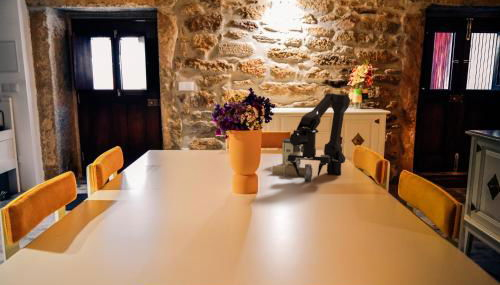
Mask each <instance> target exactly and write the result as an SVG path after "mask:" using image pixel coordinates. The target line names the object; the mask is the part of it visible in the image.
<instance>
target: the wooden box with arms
mask: <svg viewBox="0 0 500 285" xmlns="http://www.w3.org/2000/svg"><path fill="white" fill-rule="evenodd" d="M298 167H299V176H300V177H305V167H303V166H302V167H301V165H300V164H298ZM272 174H273V175H284V177H290V178H291V177H292V178H298V177H299V176H298V175H297V173H296V170H295V167H294V165H293V164H292V163H287V164H286V165H285V166H283V165H274V164H273V165H272ZM312 177H313V169H312V170H311V178H312Z"/></svg>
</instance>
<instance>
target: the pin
mask: <svg viewBox="0 0 500 285" xmlns="http://www.w3.org/2000/svg"><path fill="white" fill-rule="evenodd" d="M312 165H313V164H311V163H306V164H304V168H305V176H304V182H305V183H312V177H311V170H312V171H313V167H312Z"/></svg>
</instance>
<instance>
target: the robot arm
mask: <svg viewBox="0 0 500 285" xmlns="http://www.w3.org/2000/svg"><path fill="white" fill-rule="evenodd" d="M350 102H351V98H350V96H349V94H341V93H334V92H333V93H330V92H329V93H325V94H324V97H323V98H322V99H321V100H320V101H319V103H317V104H316V106H315V107H314V108H313V109H312V110H311V111H308V112H306V113H305V114H304V115H302V116H301V118H300V121H299V123H298V125H297V128H296V129H294V130H292V131H293V132H292V133H291V134H290V135H289V136H290V137H289V138H290V143H291V144H292V145H293V146H298V145H301V153H302V154H301V156H300V155H298V153H290V154H289V155H288V161H290V163H292V164H293V165H294V167H295V170H296V173H297V175H298V177H299V167H298V159H300V160H302V161H317V162H318V161H319V163H318V170H317V178H319V177H320V174H321V171H322V169H323V167H324V166H326V173H327V175H334V176H341V175H342V164H344V163H345V162H346V156H345V155H344V153H343V146H342V144H341V136H342V130H343V129H342V128H343V122H344V115H345V113H346V111H347V110H348V109H349V106H350ZM330 107H331V109H332V111H333V114H332V115H333V116H332V122H331V127H330V136H329V141H328V142H327V143H325V144H324V149H323V154H321V155H320V156H318V155H317V148H316V137H317V136H316V135H317V133H319V130H318V129H317V128H318V127H319V126H320V123H321V121H322V120H321V118H322V117H323V116H324V115H325V113H326V112H327V111H328V109H329V108H330Z"/></svg>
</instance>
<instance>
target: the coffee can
mask: <svg viewBox="0 0 500 285" xmlns="http://www.w3.org/2000/svg"><path fill="white" fill-rule="evenodd" d="M281 141H282V148H281V149H282V153H281V154H282V158H281V159H282V162H281V163H282V164H281V166H285V165H286V164H287V163H290V161H288V155H289V154H290V153H298V155H300V156H302V154H301V153H302V152H301V146H302V145H298V146H293V145H292V144H291V143H290V137H289V138H283V139H281ZM301 162H302V161H301V160H300V159H298V164H300V166H301Z"/></svg>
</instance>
